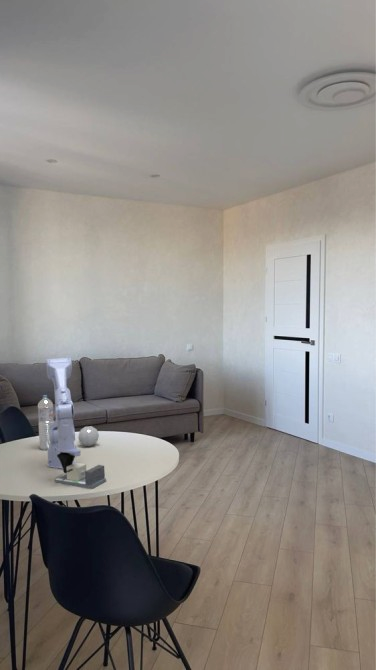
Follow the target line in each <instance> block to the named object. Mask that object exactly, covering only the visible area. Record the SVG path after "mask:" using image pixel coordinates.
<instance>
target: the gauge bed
mask: <svg viewBox="0 0 376 670" xmlns="http://www.w3.org/2000/svg"><path fill="white" fill-rule="evenodd" d="M55 482H56V483H55ZM106 482H107V478H106V477H105V478H104V479H102V480H100V481H98V482H96V483H95V484H93V485H86V484H85V478H83V479H81V480H79V481H75V480H69V479H67V473H65V474H64V475H62V476H60V477H57V478H55V479H54V483H55V484H59V483H61V485H67V486H72V487H74V486H75V487H78V488H83V489H84V488H85V489H92V490H93V489H95V488H96V487H98V486H101V485H102V484H104V483H106Z"/></svg>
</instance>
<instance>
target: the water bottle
mask: <svg viewBox="0 0 376 670" xmlns="http://www.w3.org/2000/svg"><path fill="white" fill-rule="evenodd" d="M37 408H38V410H37V411H38V412H37V413H38V439H39V441H38V442H39V450H41V451H48V447H49V446H50V444H51V443H50V434H49V430H50V425H51V424H52V423H53V422H54V421H55V420H54V403H53V401H52V400H51V399H49V398H48V395H47V394H43V395H42V399H41V400H40V401H39V402H38V403H37Z"/></svg>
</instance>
